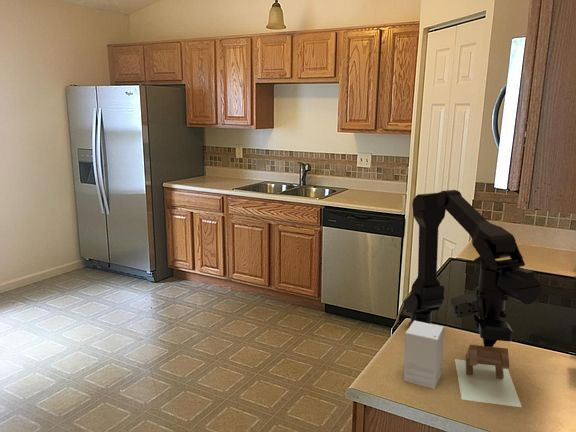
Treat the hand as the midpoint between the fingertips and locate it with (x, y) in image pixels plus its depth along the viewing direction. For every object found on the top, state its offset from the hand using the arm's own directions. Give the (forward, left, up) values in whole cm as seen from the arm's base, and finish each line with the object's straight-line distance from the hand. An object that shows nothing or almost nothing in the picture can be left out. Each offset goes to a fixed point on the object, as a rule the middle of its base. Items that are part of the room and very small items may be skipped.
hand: (486, 350), depth 108 cm
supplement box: (+3, -14, -7) cm, 16 cm away
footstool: (-1, 0, -5) cm, 6 cm away
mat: (+2, 0, -7) cm, 7 cm away
